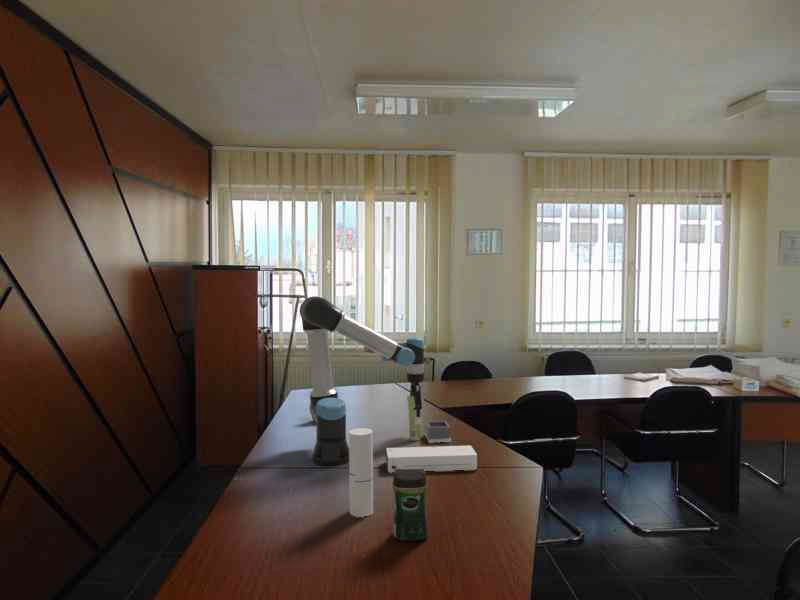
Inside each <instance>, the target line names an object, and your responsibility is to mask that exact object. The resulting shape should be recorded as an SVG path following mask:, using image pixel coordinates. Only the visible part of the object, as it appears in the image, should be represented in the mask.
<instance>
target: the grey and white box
mask: <svg viewBox="0 0 800 600" xmlns="http://www.w3.org/2000/svg"><path fill="white" fill-rule="evenodd" d="M424 426H425V427H424V429H425V430H424V436H425V437H424V438H427V439H426V440H427V442H428V444H438V443H439V444H441V443H440V442H444V443H452V438H451V426H450V424H449V423H448V422H447V420H437V421H436V420H435V421H434V420H433V421H425V425H424ZM435 442H436V443H435ZM437 442H438V443H437Z"/></svg>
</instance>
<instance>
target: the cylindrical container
mask: <svg viewBox="0 0 800 600" xmlns="http://www.w3.org/2000/svg"><path fill="white" fill-rule="evenodd" d="M373 438H374V437H373V430H372V429H370V428H365V427H364V428H363V427H362V428H361V427H358V428H353V429H350V430H349V431H348V447H349V461H348V462H349V463H348V464H349V468H348V469H349V474H348V475H349V477H348V479H349V480H348V481H349V514H351V515H353V516H352V517H354V516H356V517H355V518H358V517H362V518H365V517H364V516H368V517H369V515H370V516H371V515H373V514H374V488H373V487H374V479H373V478H374V477H373V475H374V473H373V472H374V470H373V469H374V468H373V465H374V464H373V463H374V462H373V461H374V459H373V458H374V457H373V456H374V455H373V453H374V452H373V450H374V449H373V440H374V439H373ZM351 515H350V516H351Z"/></svg>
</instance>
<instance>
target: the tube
mask: <svg viewBox="0 0 800 600" xmlns="http://www.w3.org/2000/svg"><path fill="white" fill-rule="evenodd" d="M424 398H425V396H424V395H421V403H422V409H421V421H422V418H423V417H422V416H423V406H424ZM406 399H407V406H408V418H409V419H408V425H409V428H408V429H409V440H410V441H415V442H416V441H420V440H421V438H422V423H421V424H415V410H414V408H415V401H414V396H410V395H409V396H408V395H407V397H406Z"/></svg>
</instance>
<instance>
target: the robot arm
mask: <svg viewBox="0 0 800 600" xmlns="http://www.w3.org/2000/svg"><path fill="white" fill-rule="evenodd" d="M299 315H300V318H301V322H302V323H301V324H302V331H303V332H304V333H306V335H307V345H308V355H309V365H310V374H311V386H312V390H311V392H310V393H309V401H310V404H309V412H310V415H311V418H312V417H313V418H314V420H315V421H316V422H315V421H314V420H313V421H314V422H315V424H316V425H315V426H316V440H315V441H316V442H315V444H314V448H313V451H312V455H311V457H312V459H311V460H312V463H314V464H316V465H319V466H325V465H326V467H327V465H328V466H329V467H330V466H332V467H333V466H339V465H342V464H346V463H348V462H349V443H348V441H347V407H346V402H345V401H344V400H343V399H341V398H339V394H338V393H339V392H338V389H336V388H335V387H334V382H333V381H334V380H333V371H332V362H331V352H330V351H331V350H330V341H329V332H331V333H334V332H336V333H338V334H340V335H341V336H344V337H346V338H348V339H350V340H351V341H353V342H355V343H358V344H360V345H362V346H363V347H365V348H367V349H368V350H371V351H373V352H375V353H377V354H379V355H380V359H381V361H383V362H394V363H396V364H398V365H399V366H401V367H406V372H407V373H406V381H407V382H408V383H410V387H409V388H410V390H409V396H414V401H415V408H414V410H415V424H421V425H422V420H421V409H422V410H423V407H422V403H421V396H422V393H421V392H422V390H421V388H422V387H421V386H420V383H423V382H424V381H425V380H424V379H425V374H424V371H425V370H424V369H425V368H426V365H425V361H424V359H425V358H424V356H425V352H424V351H425V345H424V339H423V338H421V337H408V338H407V340H406V342H403V343H398V342H397V341H395V340H393V339H392V338H390V337H387V336H385V335H384V334H382V333H380V332H379V331H377V330H375V329H373V328H371V327H369V326H367V325H364V323H362V322H359V321H357V320H356V319H354V318H352V317H350V316H348V315H346V314H345V312H344V310H343V309H340V308H339V307H337V306H336V305H334V304H333V303H332V302H330V301H329V300H328V299H326V298H323V297H321V296H315V295H313V296H309V297H307V298H306V299H304V300H303V301H302V302H301V305H300V307H299Z"/></svg>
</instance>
